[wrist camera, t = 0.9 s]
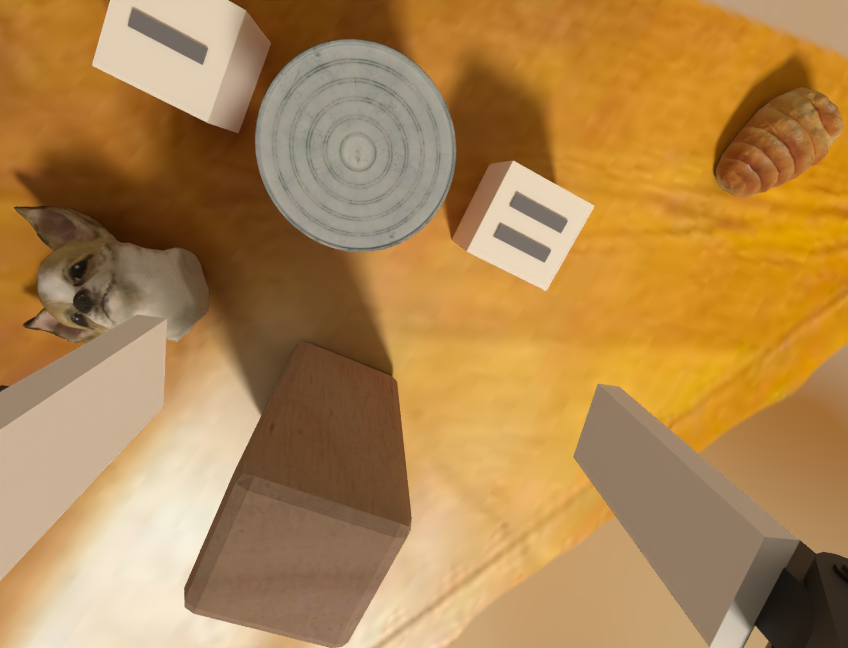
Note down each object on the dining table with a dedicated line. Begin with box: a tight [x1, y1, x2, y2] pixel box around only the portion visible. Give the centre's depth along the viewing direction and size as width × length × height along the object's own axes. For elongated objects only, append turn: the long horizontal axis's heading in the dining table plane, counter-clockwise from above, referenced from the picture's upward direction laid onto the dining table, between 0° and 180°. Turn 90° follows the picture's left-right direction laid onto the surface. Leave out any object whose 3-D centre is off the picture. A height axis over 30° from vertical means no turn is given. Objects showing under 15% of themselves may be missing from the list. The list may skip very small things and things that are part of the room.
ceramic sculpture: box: [14, 206, 209, 343], centre depth 34 cm, size 11×9×15 cm
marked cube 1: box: [452, 161, 594, 291], centre depth 36 cm, size 7×7×7 cm
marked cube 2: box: [92, 0, 271, 134], centre depth 31 cm, size 7×7×7 cm
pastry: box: [716, 87, 843, 198], centre depth 39 cm, size 9×7×4 cm
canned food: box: [255, 39, 456, 252], centre depth 31 cm, size 11×11×12 cm
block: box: [184, 342, 412, 648], centre depth 34 cm, size 10×10×20 cm
